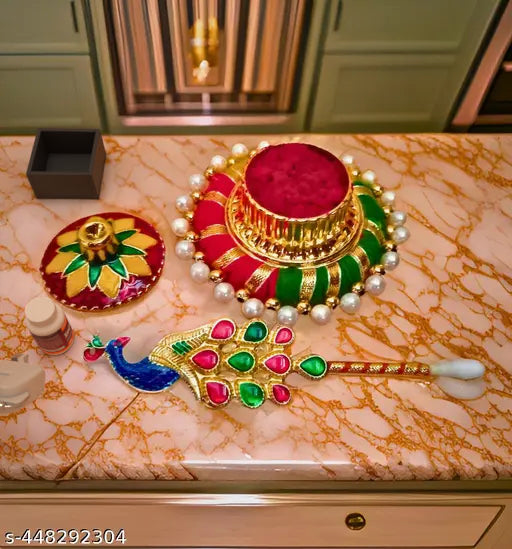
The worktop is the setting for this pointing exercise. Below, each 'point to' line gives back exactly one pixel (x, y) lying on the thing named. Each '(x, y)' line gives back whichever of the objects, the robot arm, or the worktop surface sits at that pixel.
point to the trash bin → (67, 163)
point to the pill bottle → (48, 326)
